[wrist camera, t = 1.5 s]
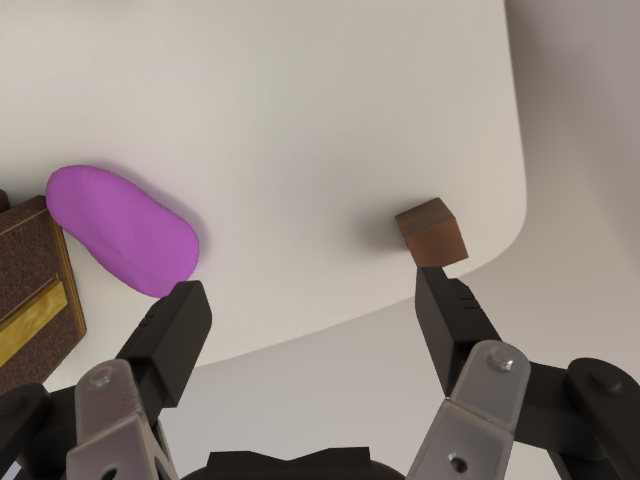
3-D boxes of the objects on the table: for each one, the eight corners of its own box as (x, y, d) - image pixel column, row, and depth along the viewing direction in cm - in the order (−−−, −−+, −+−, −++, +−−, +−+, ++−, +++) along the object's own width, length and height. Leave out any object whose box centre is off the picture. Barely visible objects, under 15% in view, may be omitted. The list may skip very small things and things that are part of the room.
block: (439, 197, 30) (455, 217, 27) (452, 233, 32) (469, 257, 28) (394, 216, 31) (404, 238, 28) (410, 250, 33) (420, 275, 30)
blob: (50, 172, 30) (3, 192, 26) (150, 130, 28) (117, 143, 24) (143, 289, 36) (118, 320, 32) (229, 261, 34) (215, 291, 30)
